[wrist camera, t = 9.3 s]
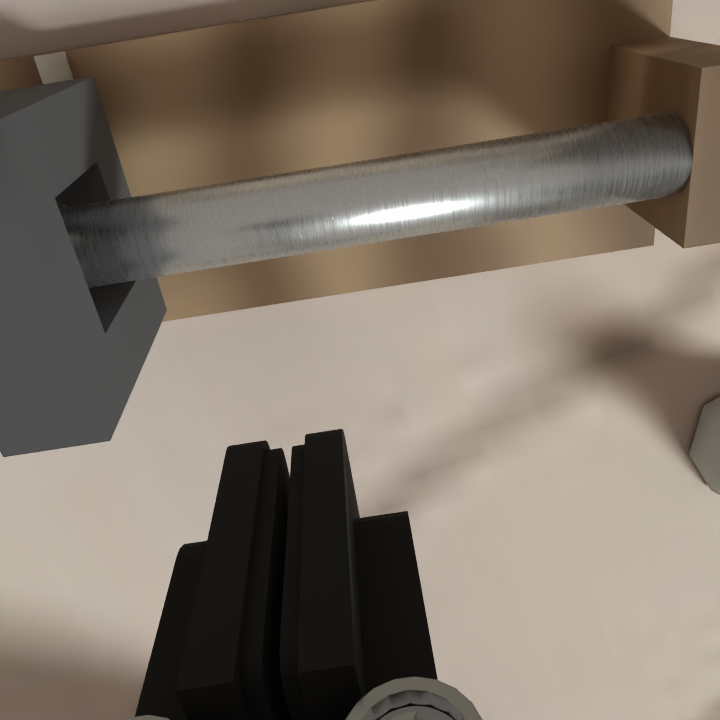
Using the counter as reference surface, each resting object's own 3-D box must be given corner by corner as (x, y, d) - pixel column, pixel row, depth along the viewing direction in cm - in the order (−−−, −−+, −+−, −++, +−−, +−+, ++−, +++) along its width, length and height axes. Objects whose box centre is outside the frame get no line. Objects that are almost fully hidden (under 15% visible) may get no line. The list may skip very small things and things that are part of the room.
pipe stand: (662, -48, 23) (795, -56, 16) (642, 236, 28) (739, 313, 21) (-186, 90, 23) (-369, 133, 17) (-56, 345, 28) (-161, 451, 22)
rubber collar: (93, 76, 22) (-17, 126, 15) (166, 310, 26) (109, 440, 19) (1, 91, 22) (-154, 148, 15) (89, 322, 26) (3, 456, 19)
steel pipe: (688, 93, 20) (737, 108, 18) (680, 182, 22) (724, 206, 19) (-186, 232, 21) (-249, 265, 19) (-142, 311, 22) (-196, 350, 20)
